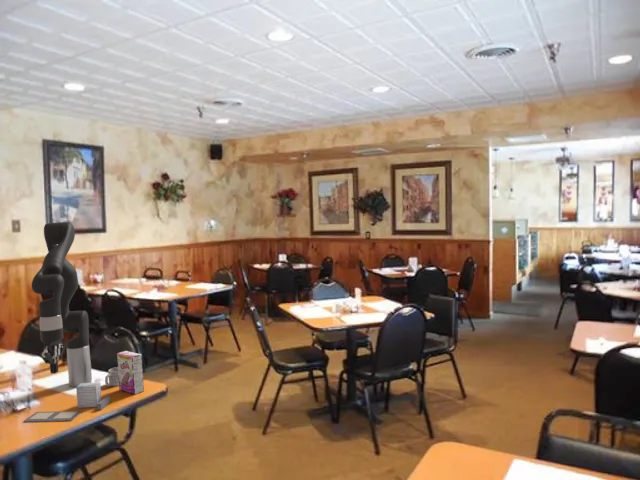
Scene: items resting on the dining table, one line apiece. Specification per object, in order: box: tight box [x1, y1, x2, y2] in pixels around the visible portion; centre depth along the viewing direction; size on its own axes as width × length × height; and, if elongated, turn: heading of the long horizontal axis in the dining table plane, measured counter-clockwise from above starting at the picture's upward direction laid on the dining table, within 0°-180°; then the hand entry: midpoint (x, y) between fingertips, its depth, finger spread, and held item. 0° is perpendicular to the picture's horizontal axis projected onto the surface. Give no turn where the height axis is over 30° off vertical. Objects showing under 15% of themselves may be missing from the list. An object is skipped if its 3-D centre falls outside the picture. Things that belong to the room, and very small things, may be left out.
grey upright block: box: [75, 382, 103, 409], centre depth 198 cm, size 8×4×9 cm, turn 91°
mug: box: [104, 366, 119, 387], centre depth 221 cm, size 10×7×7 cm
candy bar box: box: [116, 350, 145, 395], centre depth 213 cm, size 11×5×16 cm, turn 56°
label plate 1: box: [23, 410, 60, 423], centre depth 188 cm, size 8×9×1 cm
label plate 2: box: [47, 410, 83, 422], centre depth 188 cm, size 8×9×1 cm
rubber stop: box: [96, 395, 111, 411], centre depth 197 cm, size 8×2×2 cm, turn 178°
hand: (54, 372), depth 187 cm, fingers closed
